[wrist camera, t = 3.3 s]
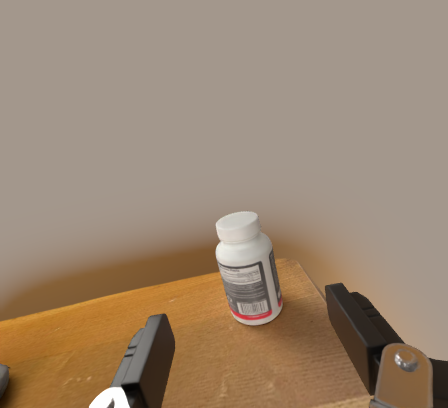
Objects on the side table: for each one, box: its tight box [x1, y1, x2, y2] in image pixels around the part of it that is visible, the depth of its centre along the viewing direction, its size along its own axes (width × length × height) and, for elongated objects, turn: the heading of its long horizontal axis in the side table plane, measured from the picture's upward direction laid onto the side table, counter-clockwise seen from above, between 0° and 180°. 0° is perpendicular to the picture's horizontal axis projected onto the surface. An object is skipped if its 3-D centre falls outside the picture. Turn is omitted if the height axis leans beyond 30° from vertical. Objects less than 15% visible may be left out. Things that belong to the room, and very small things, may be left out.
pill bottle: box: [216, 212, 283, 325], centre depth 24 cm, size 5×5×10 cm
